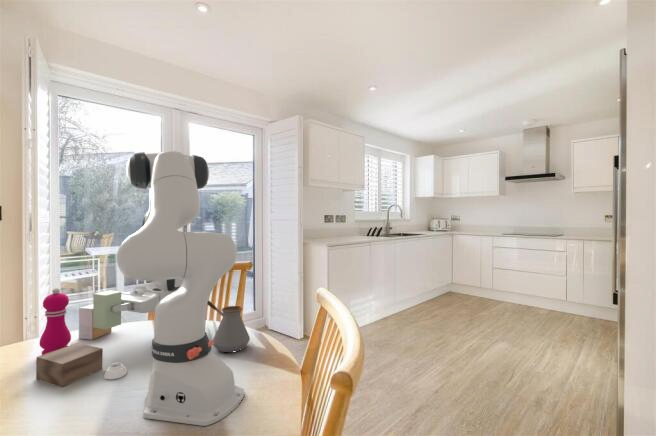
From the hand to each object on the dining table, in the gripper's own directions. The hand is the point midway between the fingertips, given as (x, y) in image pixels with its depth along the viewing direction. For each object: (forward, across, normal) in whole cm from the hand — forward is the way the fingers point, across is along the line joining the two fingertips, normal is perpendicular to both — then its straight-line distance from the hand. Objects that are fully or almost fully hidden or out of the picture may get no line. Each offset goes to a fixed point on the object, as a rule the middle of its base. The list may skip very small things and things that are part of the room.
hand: (104, 308), depth 98 cm
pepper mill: (+5, -14, +14) cm, 20 cm away
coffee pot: (-20, +26, +15) cm, 36 cm away
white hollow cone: (+7, +14, +15) cm, 22 cm away
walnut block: (+11, +3, +15) cm, 18 cm away
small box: (-10, -18, +14) cm, 25 cm away
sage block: (-1, 0, +6) cm, 6 cm away
